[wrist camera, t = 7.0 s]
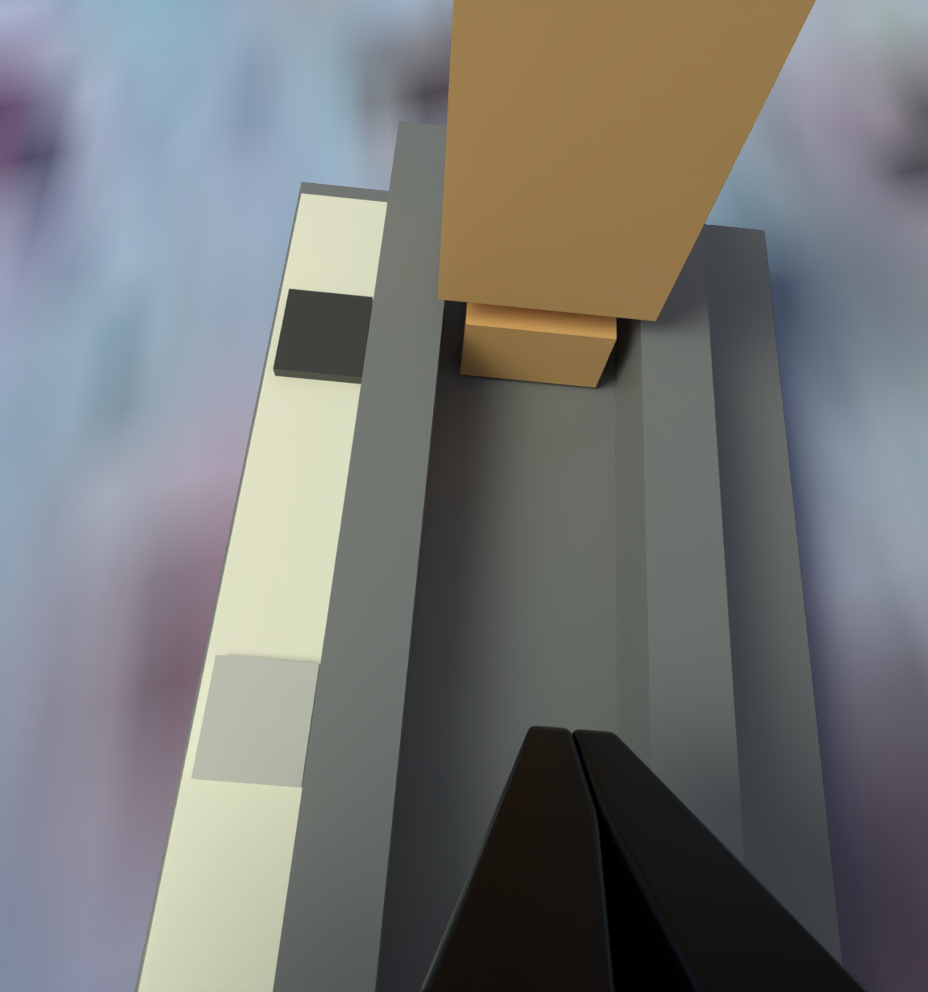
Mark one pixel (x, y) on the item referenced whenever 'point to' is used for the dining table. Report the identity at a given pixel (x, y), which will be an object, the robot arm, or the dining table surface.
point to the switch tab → (590, 164)
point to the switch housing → (480, 604)
